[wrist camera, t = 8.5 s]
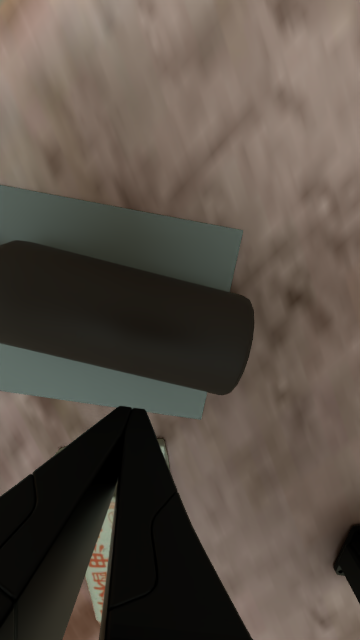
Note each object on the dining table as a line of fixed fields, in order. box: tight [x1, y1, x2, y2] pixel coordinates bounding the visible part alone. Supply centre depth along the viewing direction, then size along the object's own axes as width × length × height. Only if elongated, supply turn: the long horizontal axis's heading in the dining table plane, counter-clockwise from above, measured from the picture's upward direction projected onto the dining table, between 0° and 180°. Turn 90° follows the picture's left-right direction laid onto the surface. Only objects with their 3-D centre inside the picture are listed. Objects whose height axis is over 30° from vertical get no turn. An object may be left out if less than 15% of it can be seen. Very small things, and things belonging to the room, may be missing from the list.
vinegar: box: [0, 240, 254, 395], centre depth 16 cm, size 7×7×20 cm
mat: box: [0, 185, 243, 420], centre depth 19 cm, size 20×16×1 cm
